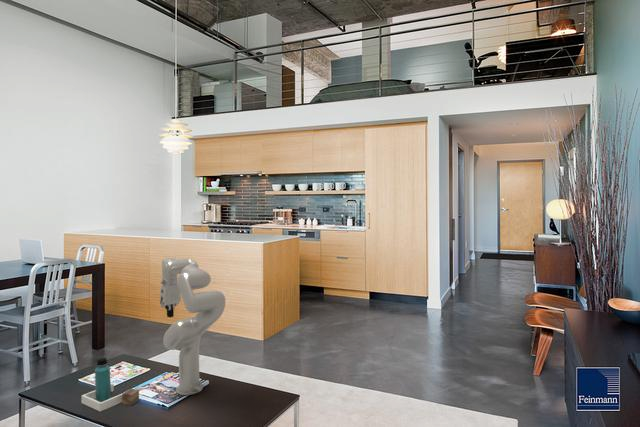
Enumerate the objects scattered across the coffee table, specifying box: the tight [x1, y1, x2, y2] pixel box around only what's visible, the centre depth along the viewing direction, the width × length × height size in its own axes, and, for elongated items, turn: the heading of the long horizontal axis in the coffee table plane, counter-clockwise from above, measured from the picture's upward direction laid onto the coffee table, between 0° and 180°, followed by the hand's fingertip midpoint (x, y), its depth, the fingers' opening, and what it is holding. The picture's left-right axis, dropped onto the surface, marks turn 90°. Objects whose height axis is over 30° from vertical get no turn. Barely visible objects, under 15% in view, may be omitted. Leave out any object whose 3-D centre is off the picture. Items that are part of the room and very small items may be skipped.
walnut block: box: [121, 388, 140, 406], centre depth 194 cm, size 5×5×5 cm
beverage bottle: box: [94, 357, 112, 402], centre depth 194 cm, size 6×7×20 cm
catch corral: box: [80, 383, 124, 413], centre depth 195 cm, size 15×15×4 cm
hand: (170, 316), depth 220 cm, fingers closed
